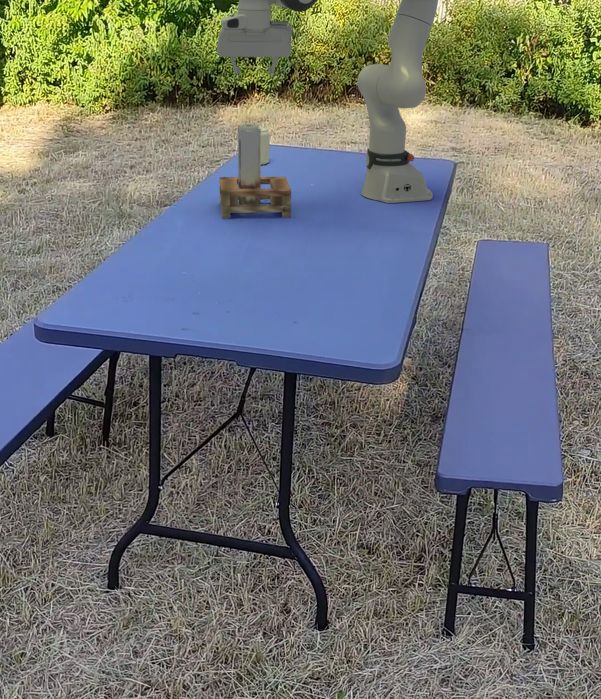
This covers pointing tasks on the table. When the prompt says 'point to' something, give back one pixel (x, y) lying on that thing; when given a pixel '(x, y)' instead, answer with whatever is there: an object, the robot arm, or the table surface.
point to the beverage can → (264, 145)
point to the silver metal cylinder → (249, 161)
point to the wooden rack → (276, 194)
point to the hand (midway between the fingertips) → (254, 73)
